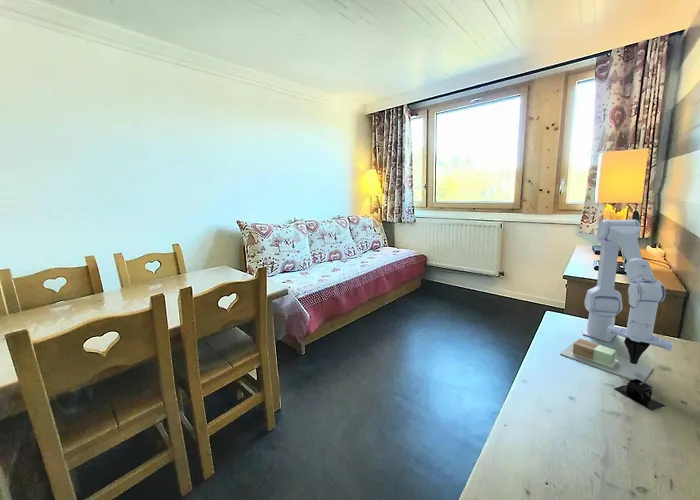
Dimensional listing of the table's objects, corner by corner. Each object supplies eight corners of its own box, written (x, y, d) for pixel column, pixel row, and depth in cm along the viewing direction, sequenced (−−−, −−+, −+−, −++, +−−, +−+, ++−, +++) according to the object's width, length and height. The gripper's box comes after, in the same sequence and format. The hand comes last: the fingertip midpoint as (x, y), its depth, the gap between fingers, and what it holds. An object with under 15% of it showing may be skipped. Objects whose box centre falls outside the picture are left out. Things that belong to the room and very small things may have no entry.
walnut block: (578, 347, 110) (579, 338, 109) (598, 354, 106) (599, 344, 105) (572, 353, 107) (573, 343, 106) (592, 359, 102) (593, 349, 102)
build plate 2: (675, 411, 81) (678, 395, 80) (655, 418, 79) (658, 401, 78) (622, 382, 92) (624, 368, 91) (603, 387, 90) (605, 373, 89)
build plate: (574, 342, 114) (574, 341, 114) (653, 368, 97) (653, 367, 97) (560, 354, 107) (560, 353, 107) (642, 384, 90) (642, 383, 90)
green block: (597, 354, 105) (598, 344, 105) (614, 360, 102) (616, 350, 101) (592, 359, 103) (593, 349, 102) (610, 365, 99) (611, 355, 98)
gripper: (606, 317, 97) (600, 357, 99) (672, 334, 85) (663, 379, 88) (613, 310, 101) (607, 349, 104) (678, 326, 89) (669, 369, 92)
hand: (633, 362), depth 96 cm, fingers closed
